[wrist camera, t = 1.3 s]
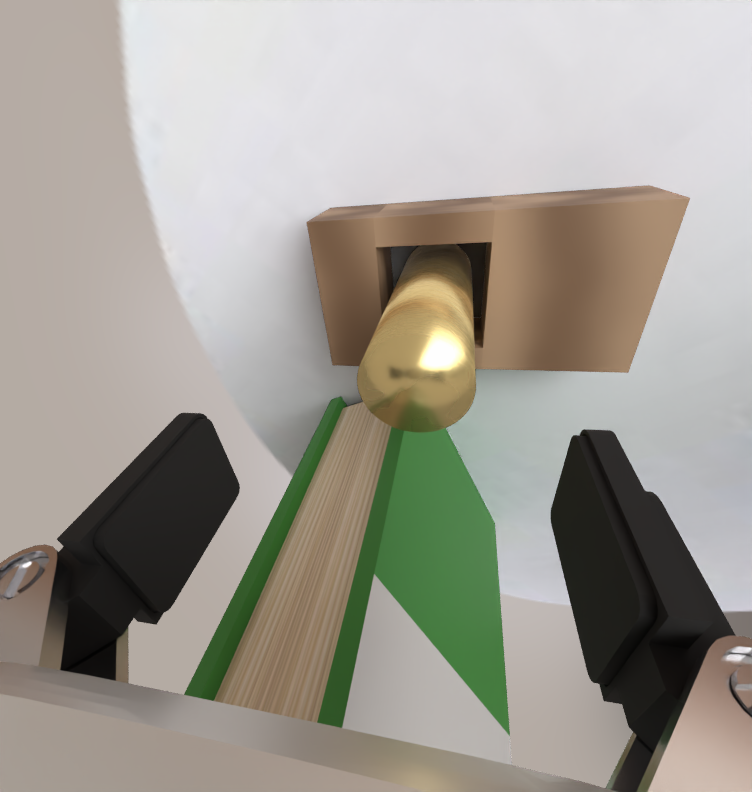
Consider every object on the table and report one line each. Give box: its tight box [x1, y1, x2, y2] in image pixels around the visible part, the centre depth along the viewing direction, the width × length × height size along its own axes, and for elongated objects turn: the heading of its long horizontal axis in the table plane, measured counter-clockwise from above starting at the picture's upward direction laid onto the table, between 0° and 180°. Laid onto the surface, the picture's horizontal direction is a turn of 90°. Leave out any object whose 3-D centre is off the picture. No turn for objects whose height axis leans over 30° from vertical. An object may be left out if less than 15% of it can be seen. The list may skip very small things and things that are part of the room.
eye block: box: [307, 186, 690, 372], centre depth 20 cm, size 16×8×4 cm, turn 95°
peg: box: [357, 244, 476, 433], centre depth 17 cm, size 4×4×12 cm
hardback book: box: [184, 397, 512, 765], centre depth 22 cm, size 18×7×24 cm, turn 28°
